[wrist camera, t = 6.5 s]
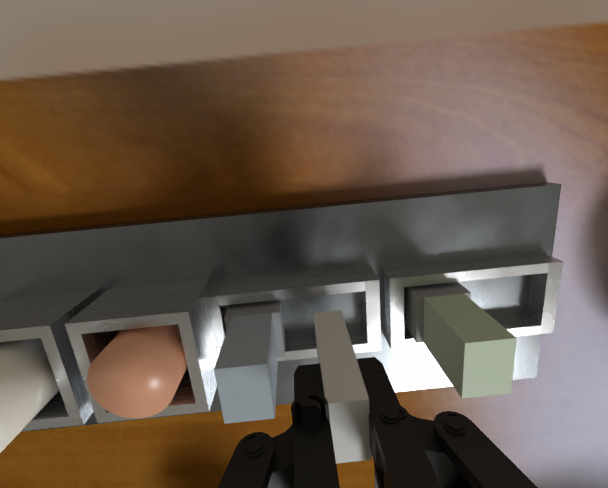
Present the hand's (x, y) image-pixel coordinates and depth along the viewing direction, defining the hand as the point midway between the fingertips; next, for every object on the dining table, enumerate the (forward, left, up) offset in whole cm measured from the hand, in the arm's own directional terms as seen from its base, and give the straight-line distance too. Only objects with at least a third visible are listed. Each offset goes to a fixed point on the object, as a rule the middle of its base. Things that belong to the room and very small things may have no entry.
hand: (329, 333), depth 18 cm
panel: (-3, 0, -4) cm, 5 cm away
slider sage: (+6, 0, -2) cm, 7 cm away
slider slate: (-4, 0, -2) cm, 5 cm away
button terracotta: (-10, 0, -2) cm, 10 cm away
